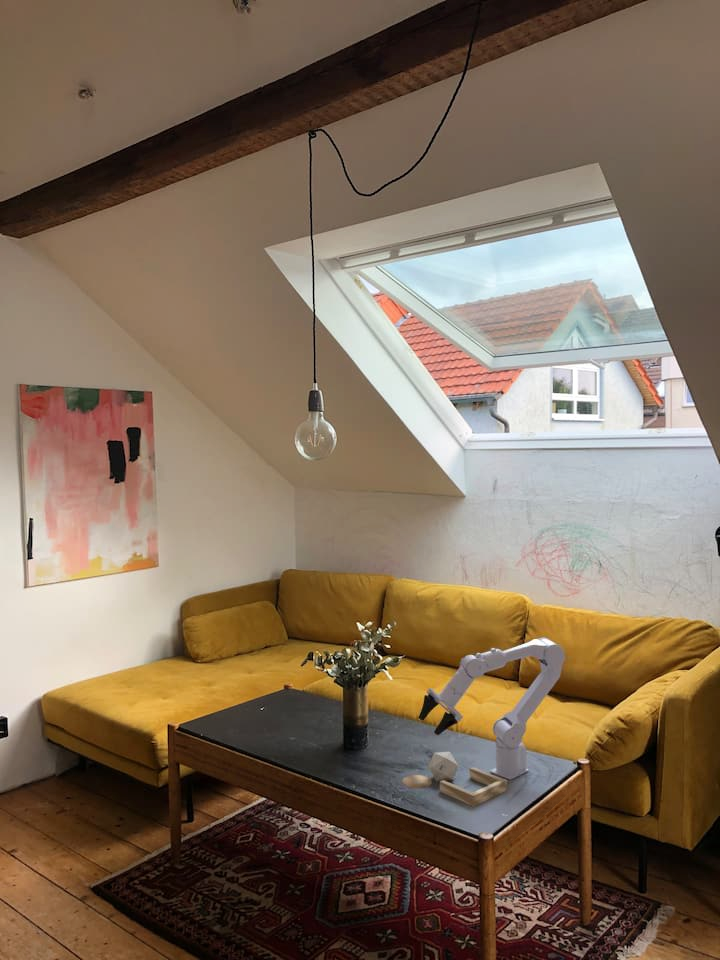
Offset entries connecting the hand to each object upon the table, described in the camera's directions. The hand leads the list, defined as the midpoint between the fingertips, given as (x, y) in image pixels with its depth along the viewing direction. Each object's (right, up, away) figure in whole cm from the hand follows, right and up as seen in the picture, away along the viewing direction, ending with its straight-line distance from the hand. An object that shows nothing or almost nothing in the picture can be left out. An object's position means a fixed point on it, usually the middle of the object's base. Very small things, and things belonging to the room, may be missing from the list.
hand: (428, 726), depth 237 cm
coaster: (-3, -17, 0) cm, 18 cm away
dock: (+12, -17, -6) cm, 22 cm away
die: (+5, -17, +2) cm, 18 cm away
